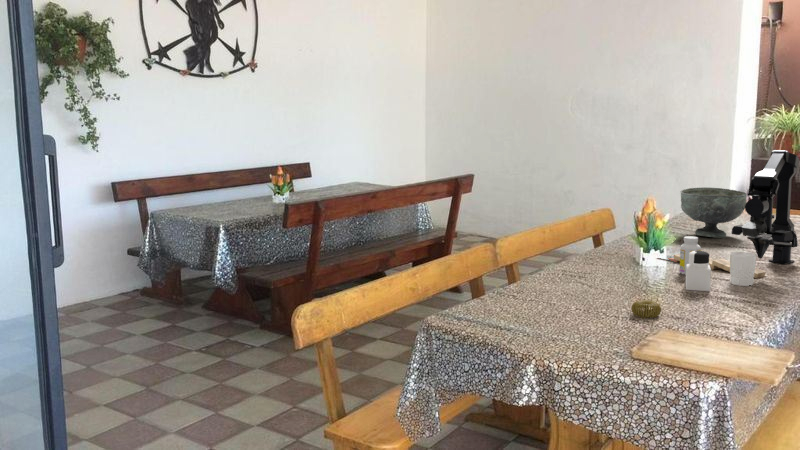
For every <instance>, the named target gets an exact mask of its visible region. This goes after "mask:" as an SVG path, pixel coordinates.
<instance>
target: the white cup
mask: <svg viewBox="0 0 800 450" xmlns="http://www.w3.org/2000/svg"><path fill="white" fill-rule="evenodd" d="M757 258H758V255H757V253H754V252H750V251H732V252H730V253H729V262H730V272H729V275H730V277H729V279H730V280H729V281H730V284H732V285H734V286H738V287H739V286H740V287H750V286H749V285H751V286H753V285H754V280H755V279H754V274H755V268H756V266H757V265H756V264H757Z"/></svg>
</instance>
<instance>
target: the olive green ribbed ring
mask: <svg viewBox="0 0 800 450" xmlns="http://www.w3.org/2000/svg"><path fill="white" fill-rule="evenodd" d="M661 311H662V307H661V306H660V304H659V303H658V302H656V301H653V300H648V299H642V300H637V301H634V302H633V303H632V304H631V312H632V314H633V315H634V316H636V317H638V318H642V319H653V318H657V317H658V316H659V315H660V314H661V313H662V312H661Z"/></svg>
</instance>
